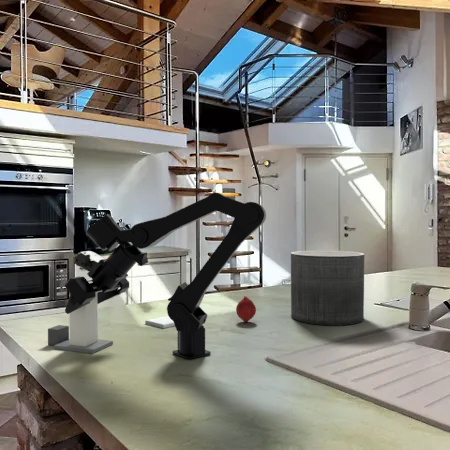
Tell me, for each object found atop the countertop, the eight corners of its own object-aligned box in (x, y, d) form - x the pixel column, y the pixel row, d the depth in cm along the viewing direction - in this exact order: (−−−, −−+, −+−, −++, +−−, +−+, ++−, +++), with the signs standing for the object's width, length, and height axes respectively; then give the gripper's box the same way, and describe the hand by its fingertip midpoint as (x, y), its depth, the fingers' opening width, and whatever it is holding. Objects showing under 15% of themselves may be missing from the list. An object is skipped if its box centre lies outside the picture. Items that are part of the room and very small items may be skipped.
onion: (259, 322, 135) (259, 295, 135) (247, 325, 131) (247, 297, 131) (244, 319, 139) (244, 293, 139) (232, 322, 135) (232, 295, 135)
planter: (306, 328, 128) (306, 257, 127) (281, 312, 149) (281, 251, 149) (378, 324, 132) (378, 255, 132) (343, 309, 154) (343, 250, 153)
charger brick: (97, 341, 111) (97, 292, 111) (86, 346, 107) (85, 295, 107) (81, 339, 113) (81, 291, 112) (69, 344, 108) (69, 294, 108)
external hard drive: (145, 325, 133) (176, 318, 142) (163, 330, 127) (195, 322, 137) (145, 320, 133) (176, 313, 142) (163, 324, 127) (195, 316, 137)
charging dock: (112, 344, 112) (112, 327, 112) (93, 353, 104) (93, 335, 104) (64, 338, 116) (64, 323, 116) (42, 347, 109) (42, 330, 109)
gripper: (118, 238, 117) (83, 279, 121) (71, 242, 99) (31, 289, 103) (146, 269, 114) (108, 310, 118) (102, 279, 97) (60, 327, 100)
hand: (78, 308), depth 110 cm, fingers open, 9 cm apart
